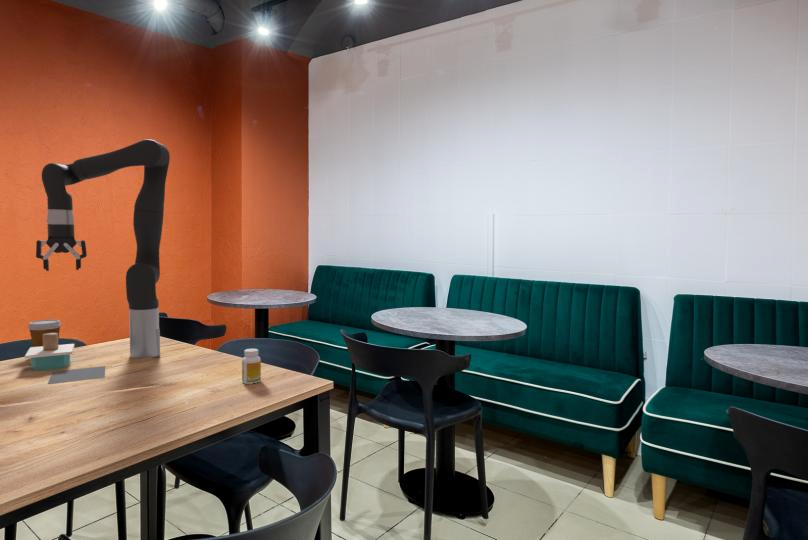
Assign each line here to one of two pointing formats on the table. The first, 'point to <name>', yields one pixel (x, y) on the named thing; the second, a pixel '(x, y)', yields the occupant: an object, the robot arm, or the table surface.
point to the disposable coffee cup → (43, 330)
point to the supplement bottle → (251, 367)
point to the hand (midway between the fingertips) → (62, 270)
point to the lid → (50, 347)
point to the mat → (77, 375)
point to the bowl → (50, 362)
